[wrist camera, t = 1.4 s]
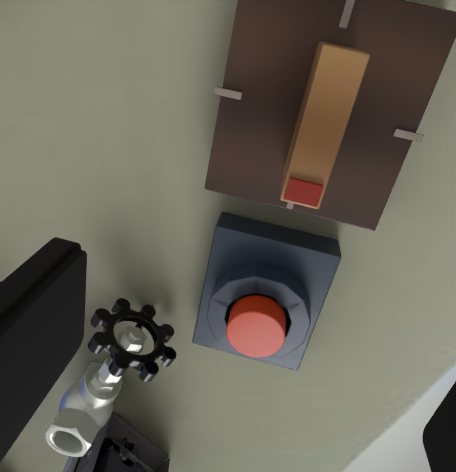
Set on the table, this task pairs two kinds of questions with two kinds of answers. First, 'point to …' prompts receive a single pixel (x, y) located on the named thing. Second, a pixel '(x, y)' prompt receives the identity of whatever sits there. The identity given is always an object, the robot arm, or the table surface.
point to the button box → (266, 281)
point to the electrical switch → (119, 452)
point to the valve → (107, 375)
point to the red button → (256, 326)
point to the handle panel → (293, 88)
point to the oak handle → (322, 122)
